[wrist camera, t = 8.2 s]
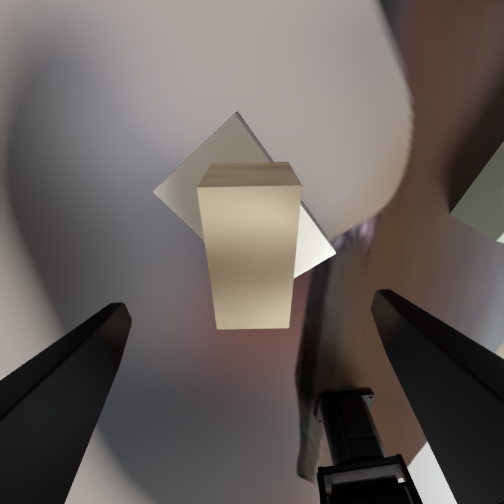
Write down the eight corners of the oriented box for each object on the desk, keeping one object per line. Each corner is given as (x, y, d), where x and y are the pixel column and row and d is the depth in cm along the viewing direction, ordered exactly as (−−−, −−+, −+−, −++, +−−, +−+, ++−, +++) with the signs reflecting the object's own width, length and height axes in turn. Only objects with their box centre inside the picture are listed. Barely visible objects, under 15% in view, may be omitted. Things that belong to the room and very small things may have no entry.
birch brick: (281, 282, 17) (289, 328, 13) (223, 283, 17) (217, 329, 14) (288, 162, 13) (302, 185, 9) (211, 163, 13) (196, 187, 9)
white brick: (324, 231, 18) (336, 253, 16) (260, 272, 20) (262, 297, 18) (237, 111, 14) (234, 113, 11) (167, 177, 16) (152, 191, 13)
